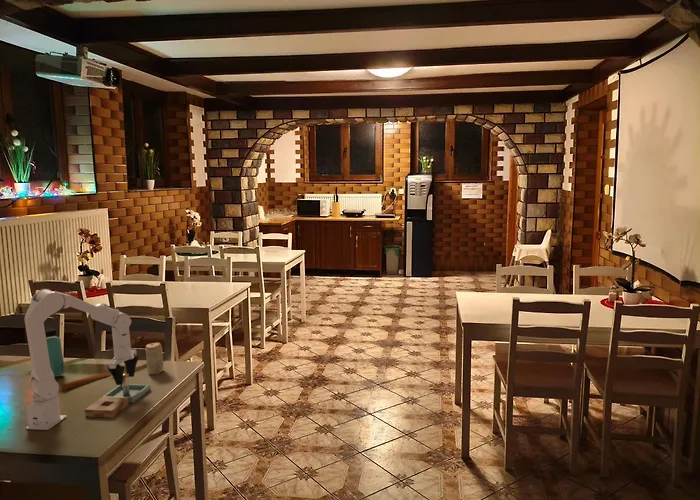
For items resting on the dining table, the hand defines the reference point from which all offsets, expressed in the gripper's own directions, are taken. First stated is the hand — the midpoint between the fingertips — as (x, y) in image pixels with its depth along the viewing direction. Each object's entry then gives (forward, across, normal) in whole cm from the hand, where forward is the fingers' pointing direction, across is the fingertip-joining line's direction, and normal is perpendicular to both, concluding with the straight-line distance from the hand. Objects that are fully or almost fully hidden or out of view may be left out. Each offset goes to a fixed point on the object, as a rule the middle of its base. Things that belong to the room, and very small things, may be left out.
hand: (125, 380), depth 197 cm
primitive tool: (+7, +12, +24) cm, 28 cm away
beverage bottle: (+6, +15, +40) cm, 43 cm away
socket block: (+6, -12, 0) cm, 13 cm away
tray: (+6, 0, 0) cm, 6 cm away
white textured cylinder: (+6, +23, +1) cm, 24 cm away
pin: (+6, 0, 0) cm, 6 cm away
